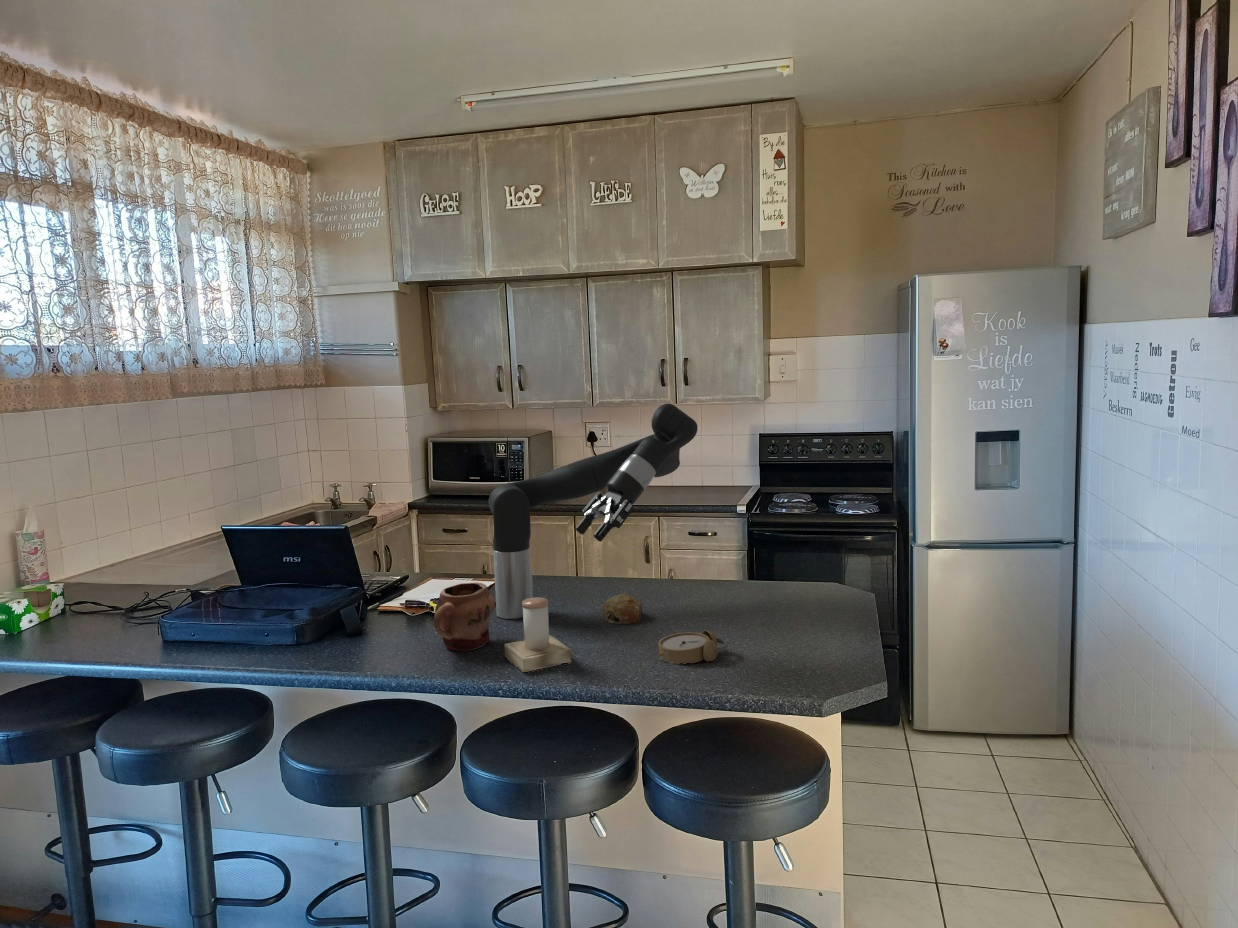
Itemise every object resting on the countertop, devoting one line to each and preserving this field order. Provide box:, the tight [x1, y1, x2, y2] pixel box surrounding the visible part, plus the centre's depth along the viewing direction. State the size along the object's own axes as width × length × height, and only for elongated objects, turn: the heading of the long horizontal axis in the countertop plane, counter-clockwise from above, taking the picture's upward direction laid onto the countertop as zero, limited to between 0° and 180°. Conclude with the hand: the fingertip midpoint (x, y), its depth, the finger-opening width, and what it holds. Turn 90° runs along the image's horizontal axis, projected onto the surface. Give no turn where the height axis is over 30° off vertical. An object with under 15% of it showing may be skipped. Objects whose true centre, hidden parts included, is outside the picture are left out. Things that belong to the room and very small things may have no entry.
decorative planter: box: [433, 581, 496, 652], centre depth 191 cm, size 20×12×14 cm, turn 161°
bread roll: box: [602, 593, 643, 625], centre depth 209 cm, size 10×10×8 cm
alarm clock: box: [657, 630, 728, 664], centre depth 182 cm, size 11×5×15 cm
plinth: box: [504, 634, 572, 673], centre depth 182 cm, size 11×11×3 cm
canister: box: [522, 596, 550, 650], centre depth 182 cm, size 6×6×10 cm
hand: (587, 535), depth 184 cm, fingers open, 8 cm apart
